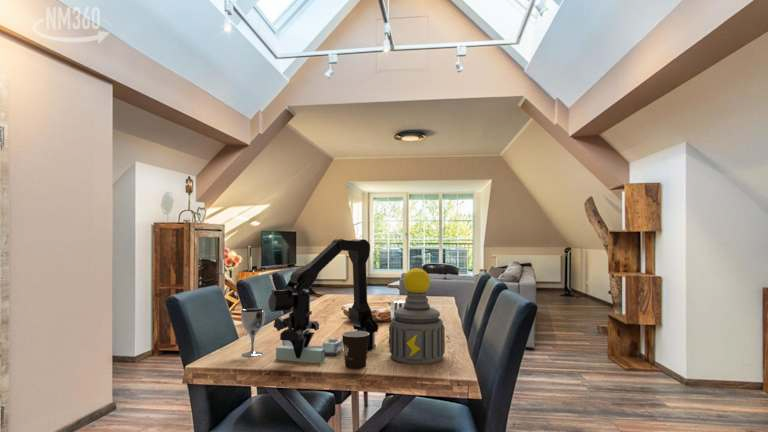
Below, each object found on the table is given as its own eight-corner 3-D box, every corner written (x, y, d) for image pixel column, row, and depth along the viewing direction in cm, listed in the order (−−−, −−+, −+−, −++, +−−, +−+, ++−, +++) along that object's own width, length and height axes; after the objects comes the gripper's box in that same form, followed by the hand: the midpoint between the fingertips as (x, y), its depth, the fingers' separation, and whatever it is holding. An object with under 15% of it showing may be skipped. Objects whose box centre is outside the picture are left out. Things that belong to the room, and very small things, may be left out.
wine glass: (269, 352, 147) (269, 309, 148) (253, 358, 140) (254, 312, 141) (251, 350, 151) (252, 307, 152) (235, 355, 144) (236, 311, 144)
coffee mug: (370, 369, 129) (371, 336, 129) (342, 370, 127) (343, 337, 128) (366, 358, 140) (366, 328, 141) (340, 360, 139) (340, 329, 139)
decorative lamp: (443, 367, 132) (443, 270, 133) (384, 363, 135) (384, 269, 137) (445, 351, 150) (445, 266, 152) (393, 348, 154) (394, 266, 155)
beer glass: (408, 341, 164) (408, 303, 165) (390, 341, 164) (390, 302, 165) (407, 337, 171) (407, 300, 172) (390, 337, 171) (390, 300, 172)
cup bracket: (342, 350, 151) (342, 339, 151) (336, 355, 144) (336, 343, 144) (290, 347, 155) (290, 336, 155) (282, 352, 148) (282, 340, 148)
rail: (324, 361, 138) (324, 348, 138) (320, 363, 135) (321, 351, 135) (280, 357, 142) (280, 345, 142) (275, 359, 139) (276, 347, 139)
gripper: (290, 303, 150) (289, 348, 150) (265, 312, 132) (264, 363, 131) (319, 305, 148) (319, 350, 147) (298, 314, 130) (297, 365, 129)
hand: (300, 356), depth 139 cm, fingers closed on rail, 3 cm apart
